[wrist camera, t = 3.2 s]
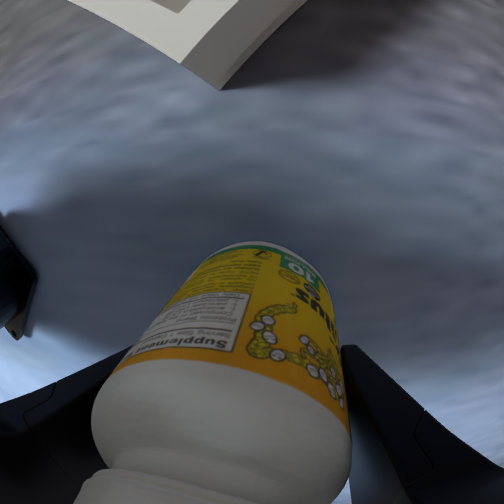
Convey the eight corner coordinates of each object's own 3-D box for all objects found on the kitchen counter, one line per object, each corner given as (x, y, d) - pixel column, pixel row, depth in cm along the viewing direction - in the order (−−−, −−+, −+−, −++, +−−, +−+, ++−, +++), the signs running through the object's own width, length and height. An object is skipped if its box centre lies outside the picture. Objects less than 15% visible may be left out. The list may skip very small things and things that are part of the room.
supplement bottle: (169, 259, 11) (-30, 456, 2) (312, 219, 10) (337, 576, 1) (219, 371, 13) (139, 576, 4) (343, 349, 11) (361, 599, 2)
